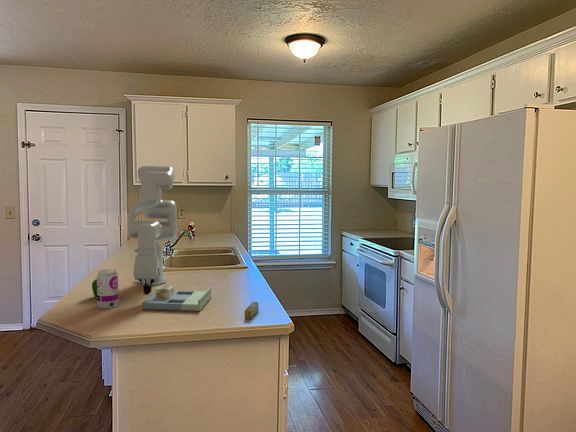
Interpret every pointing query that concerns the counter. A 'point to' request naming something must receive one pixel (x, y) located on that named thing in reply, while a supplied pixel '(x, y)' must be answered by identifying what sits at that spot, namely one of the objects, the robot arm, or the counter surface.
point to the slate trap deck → (179, 301)
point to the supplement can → (107, 288)
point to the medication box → (251, 310)
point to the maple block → (165, 292)
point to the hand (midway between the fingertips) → (147, 293)
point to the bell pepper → (94, 287)
